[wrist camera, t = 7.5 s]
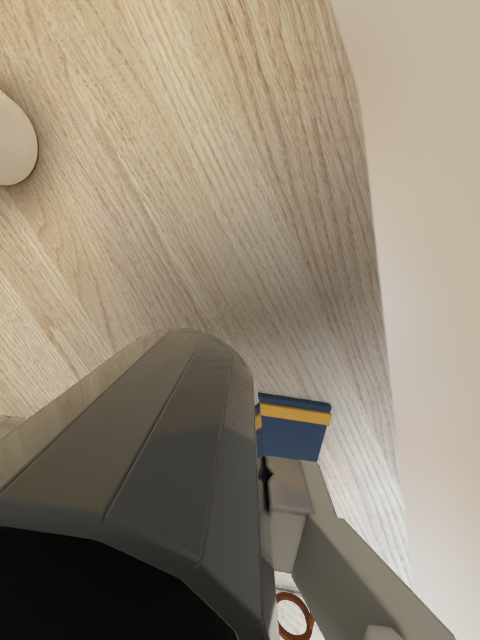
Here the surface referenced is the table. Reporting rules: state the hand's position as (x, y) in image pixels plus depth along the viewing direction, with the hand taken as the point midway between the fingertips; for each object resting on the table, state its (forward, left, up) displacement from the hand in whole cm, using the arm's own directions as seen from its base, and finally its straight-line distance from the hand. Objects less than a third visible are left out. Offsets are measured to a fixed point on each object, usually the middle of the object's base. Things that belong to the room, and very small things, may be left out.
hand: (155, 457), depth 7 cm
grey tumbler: (0, 0, -3) cm, 3 cm away
